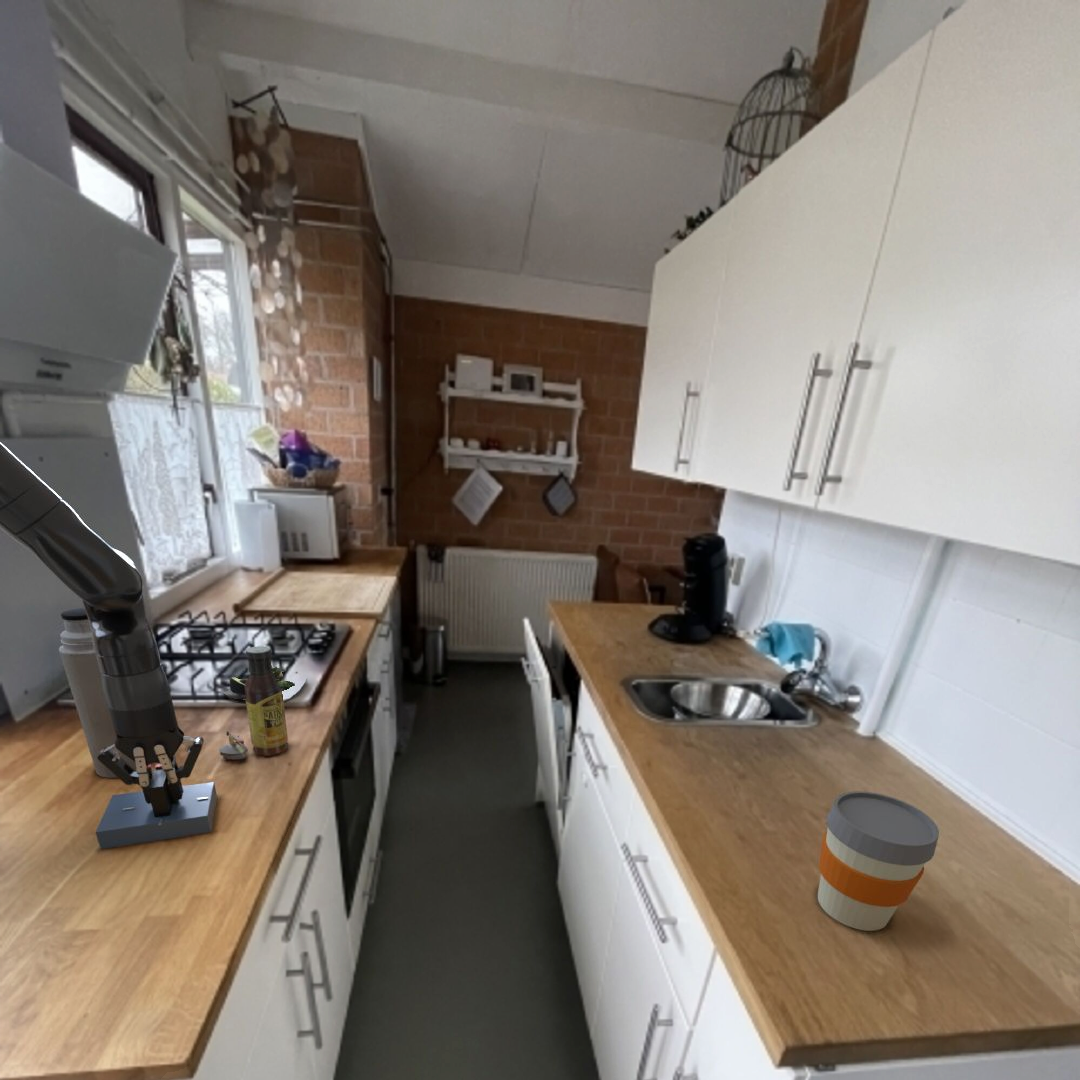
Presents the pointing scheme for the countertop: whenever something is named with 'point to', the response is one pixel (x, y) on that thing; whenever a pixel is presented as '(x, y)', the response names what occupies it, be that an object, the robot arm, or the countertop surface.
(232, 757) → the figurine
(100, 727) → the thermos bottle
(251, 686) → the sauce bottle
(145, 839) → the rotary switch base
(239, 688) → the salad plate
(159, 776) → the black and red block
